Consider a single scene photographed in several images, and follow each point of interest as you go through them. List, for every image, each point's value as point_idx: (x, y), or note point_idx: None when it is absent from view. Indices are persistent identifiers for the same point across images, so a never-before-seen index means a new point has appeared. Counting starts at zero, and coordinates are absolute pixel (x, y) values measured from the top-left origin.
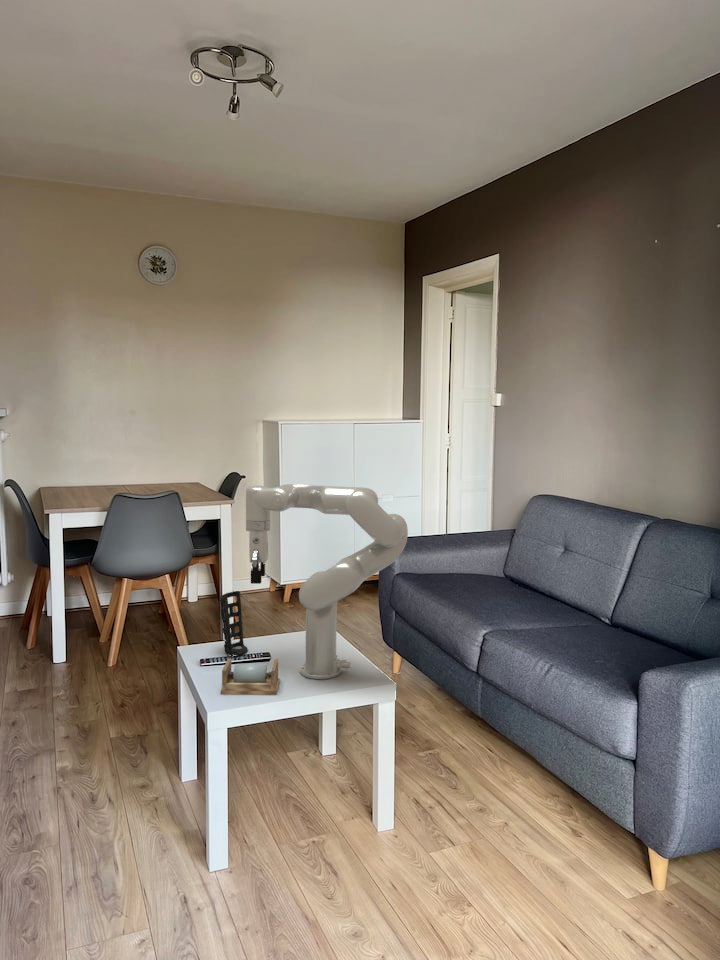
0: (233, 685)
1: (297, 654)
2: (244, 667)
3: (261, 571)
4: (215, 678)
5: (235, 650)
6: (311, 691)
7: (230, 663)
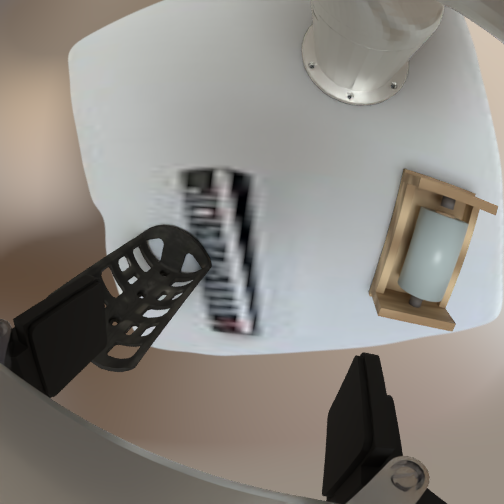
0: (451, 291)
1: (209, 98)
2: (446, 277)
3: (80, 320)
4: (343, 313)
5: (174, 255)
6: (468, 111)
7: (391, 306)
